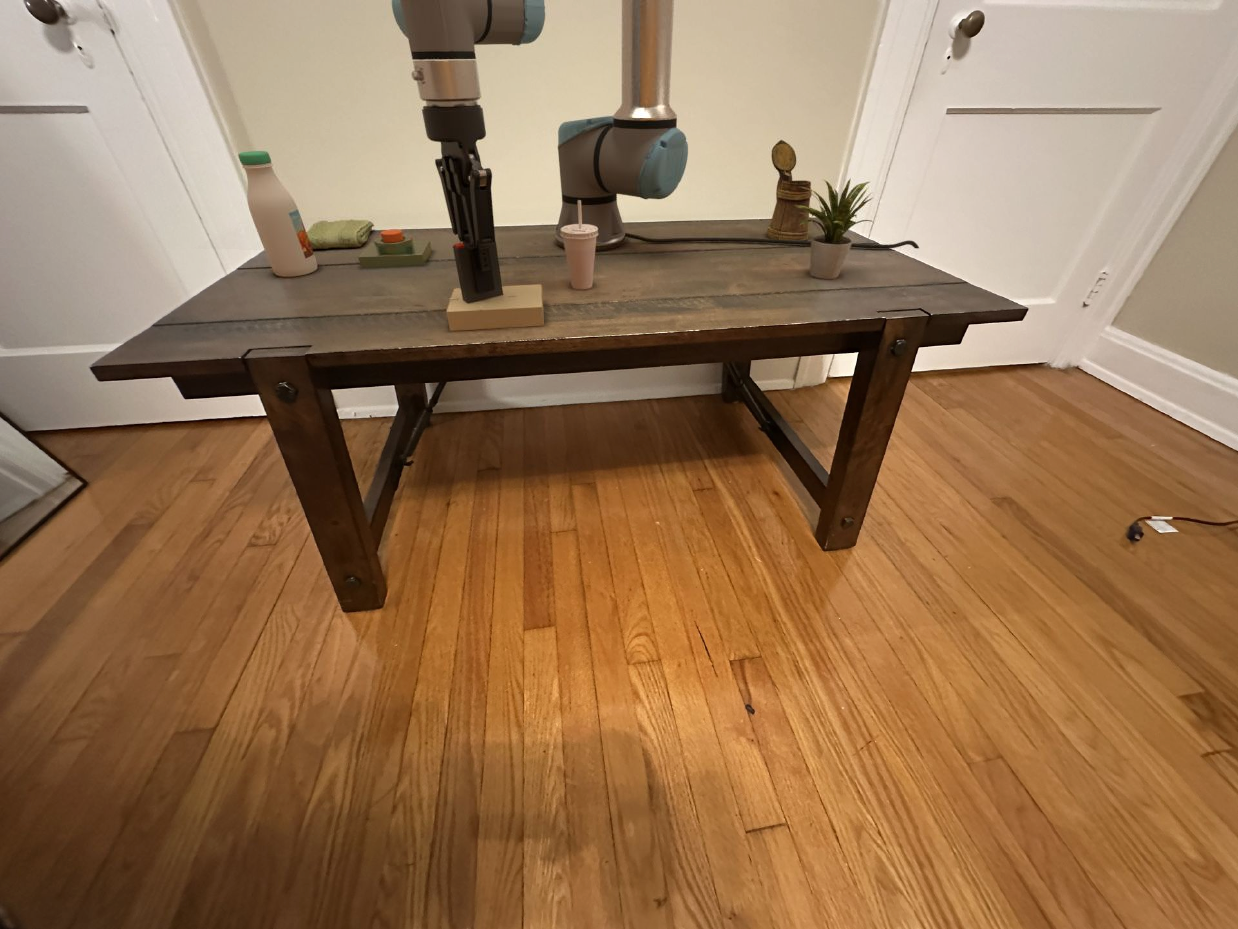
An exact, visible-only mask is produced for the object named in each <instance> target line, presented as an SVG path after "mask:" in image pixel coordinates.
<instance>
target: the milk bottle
mask: <svg viewBox="0 0 1238 929" xmlns="http://www.w3.org/2000/svg"><path fill="white" fill-rule="evenodd" d="M237 154H238V156H237V157H238V159H239V162H240V163H241V165H242V168H243V169H244V170H245V174H246V178H247V179H246V180H247V194H246V195H247V196H246V198H247V199H246V200H247V206H248V210H249V213H250V216H251V219H252V221H253V224H254V227H255V230H256V232H257V235H258V236H259V237H258V238H259V239H260V242H261V244H262V247H263V249H264V253H265V255H266V258H267V259H268V262H269V264H270V267H271V270H272V272H273V273H274V274H275V275H276V276H278V277H284V278H285V277H286V278H289V277H300V276H304V275H308V274H310V273H313V272H316V271H317V270H318V262H317V259H316V256H315V252H314V249H313V250H312V247H311V244H310V242H309V239H308V236H307V233H306V232H307V230H306V228H305V225H304V224H305V223H304V222H303V219H302V215H301V214H300V211H299V207H298V206H297V204H296V202H295V200H294V198H293V195H291V193H290V191H289V190H288V189H287V188H286V186H284V184H283V183H282V182H281V181H280V179H279V177H278V176H277V174H276V173H275V171H274V169H273V166H274V165H273V162H272V159H271V156H270V153H269V152H268V151H266V150H251V151H250V150H249V151H243V152H238V153H237Z"/></svg>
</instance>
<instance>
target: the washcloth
mask: <svg viewBox="0 0 1238 929" xmlns="http://www.w3.org/2000/svg"><path fill="white" fill-rule="evenodd" d="M373 227H375V224H374V223H373V222H372V221H370V220H367V219H341V220H335V221H328V220H319V221H317V222H314V223H313V224H312V226H310V227H309V229H308V230H306V233H307V236H308V239H309V242H310V244H311V247H312V250H313V251H314V250H320V249H321V250H329V249H331V248H334V249H339V248H340V249H349V248H351V249H352V248H360V247H362V246H363V245H364V244H365V243H366V242H367V241H368V239H369V235H370V233H371V231H372V228H373Z"/></svg>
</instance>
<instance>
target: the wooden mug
mask: <svg viewBox="0 0 1238 929" xmlns="http://www.w3.org/2000/svg"><path fill="white" fill-rule="evenodd" d="M771 162H772V165H773V168H774V169H775V170H776V171H777V172H778V175H779V177H778V180H777V184H776V190H775V191H776V192H775V195H776V196H775V198H776V200H775V202H776V203H775V206H774V210H773V213H772V217H771V221H770V223H769V225H768V226H767V229H766V235H767V237H768V239H779V240H798V241H808V239H809V238H810V230H809V223H810V222H807V223H804V224H801V222H800V221H802V220H805V219H810V218H809V217H810V213H808V212H807V211H805V210H804V209H801V208H798V207H796V206H794V205H800V206H806V207H811V206H810V205H811V204H810V203H811V198H812V196H813V195H812V194H813V191H811V190H813V189H812V181H810V180H803V179H802V180H793V175H792V174H793V173H792V171H793V170H794V169H795V167H796V166H797V155H796V153H795V150H794V148H793V147H792V146H791V144H789V143H788V142H786V141H785V140H783V139H780V140H779V141H777V143H775V145H774V146H773V147H772V149H771ZM798 186H799V187H798ZM802 187H804V188H802ZM805 188H808V189H811V190H808V189H805ZM809 193H811V194H809ZM802 213H804V214H802ZM805 214H806V215H805ZM807 215H808V216H809V217H808V216H807ZM802 222H803V221H802ZM800 224H801V225H800ZM798 226H799V227H798Z"/></svg>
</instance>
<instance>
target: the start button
mask: <svg viewBox="0 0 1238 929" xmlns="http://www.w3.org/2000/svg"><path fill="white" fill-rule="evenodd" d="M403 235H404V233H403V230H402V229H400V228H399V229H396V228H392V229H385V230H382V231H380V237H382V240H383V242H397V241H402V240H404V237H403Z"/></svg>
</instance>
